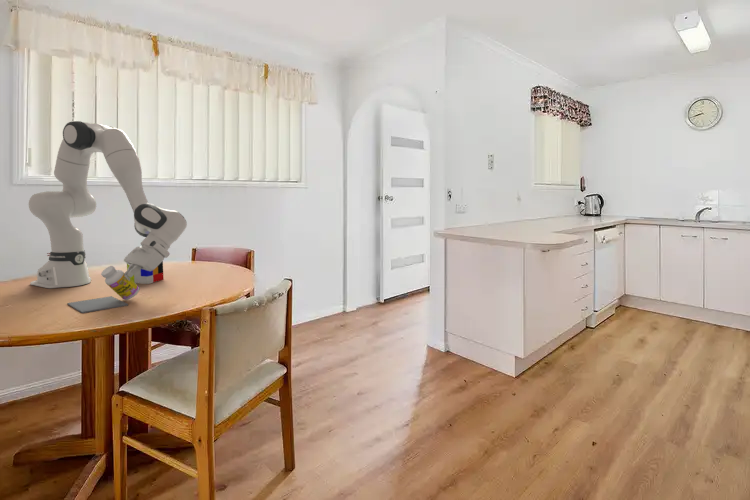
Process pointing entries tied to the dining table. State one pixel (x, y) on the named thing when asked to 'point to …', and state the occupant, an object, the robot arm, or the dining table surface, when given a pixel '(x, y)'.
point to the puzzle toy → (148, 275)
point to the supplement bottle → (120, 283)
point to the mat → (97, 304)
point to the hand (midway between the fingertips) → (127, 275)
